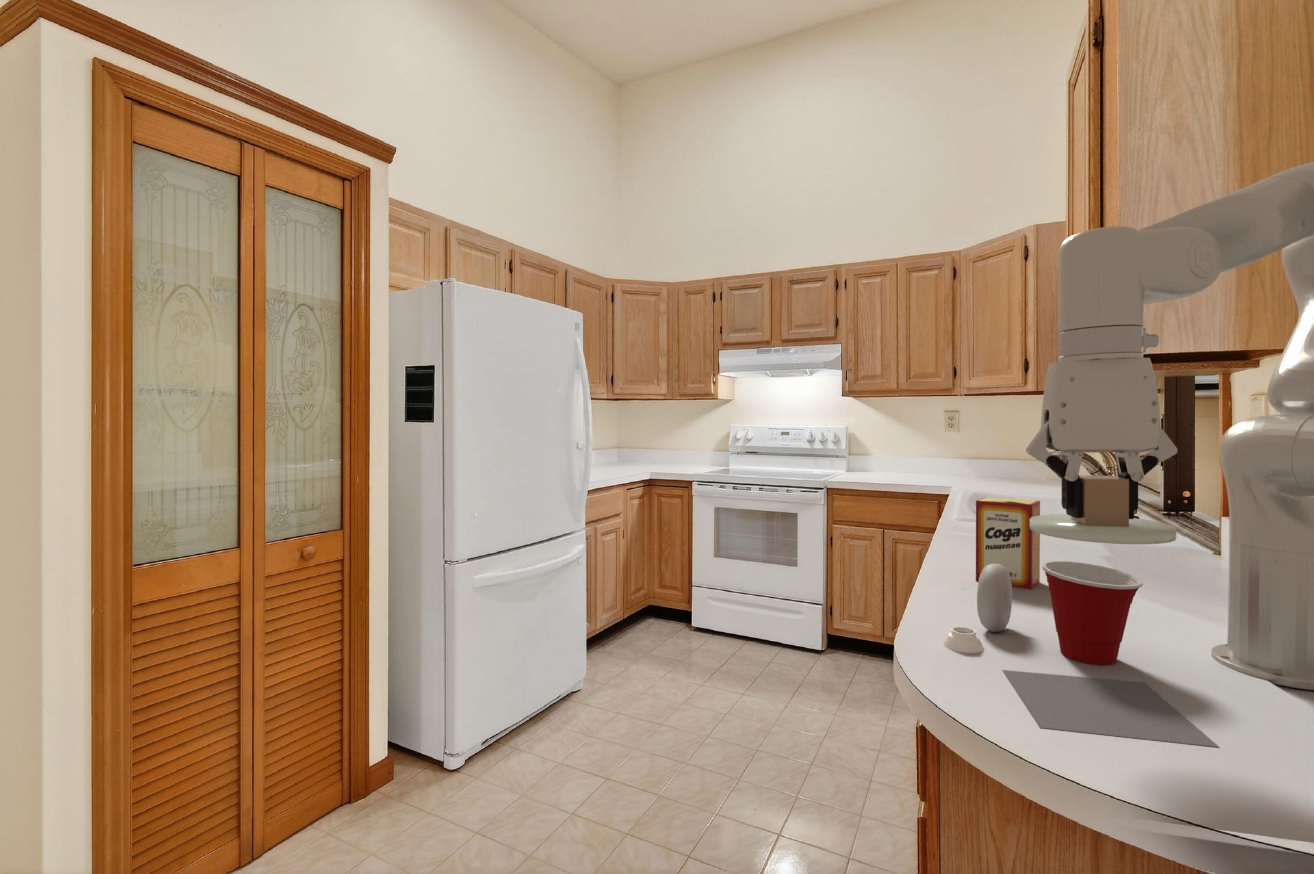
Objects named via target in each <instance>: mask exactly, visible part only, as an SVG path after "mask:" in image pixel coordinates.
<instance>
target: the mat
mask: <svg viewBox="0 0 1314 874" xmlns="http://www.w3.org/2000/svg"><path fill="white" fill-rule="evenodd" d="M1001 672H1002V673H1003V674H1004V675H1005V677H1006V678H1007V680H1008V682H1009V683H1010V685H1011V687H1012V688H1013V689H1014V690H1015V692H1016V694H1017V696H1018V697H1019V698H1020V700H1021V701H1022V703H1023V705H1024V706H1025V708H1026V709H1027V710H1028V713H1029V714H1030V715H1031V717H1032V719H1034V721H1035V723H1036V724H1037V726H1038V727H1039V729H1044V730H1053V731H1054V730H1055V731H1063V732H1073V733H1078V734H1079V733H1080V734H1090V735H1099V736H1108V737H1109V736H1111V737H1115V738H1118V737H1119V738H1124V739H1125V738H1127V739H1135V740H1144V741H1154V742H1162V743H1174V744H1182V745H1191V746H1199V747H1209V748H1211V747H1212V748H1217V749H1220V747H1221V746H1219V745H1218V744H1217V743H1215V742H1214V741H1213V739H1211V738H1210V737H1208V735H1206V734H1205V733H1204V732H1203V731H1202V730H1201V729H1199V727H1197V726H1196V725H1194V723H1193V722H1191V721H1190V720H1189V719H1188V718H1186V716H1184V715H1183V713H1181V712H1179V711H1178V710H1177V709H1176V708H1175V707H1174V706H1172V705H1171V704H1170V703H1169V702H1168V701H1167V700H1165V699H1164V698H1163V697H1162V696H1161V695H1160V694H1159V693H1158V692H1157V691H1155V690H1154V689H1153V688H1152V687H1151V686H1150V685H1148V684H1147V683H1146V682H1144V681H1133V680H1132V681H1130V680H1120V679H1111V678H1098V677H1089V676H1087V677H1086V676H1085V677H1084V676H1075V675H1066V674H1065V675H1063V674H1052V673H1041V672H1031V671H1030V672H1029V671H1019V670H1007V669H1002V670H1001Z"/></svg>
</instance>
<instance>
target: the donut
mask: <svg viewBox="0 0 1314 874" xmlns="http://www.w3.org/2000/svg"><path fill="white" fill-rule="evenodd" d="M977 582H978V581H977ZM976 589H977V591H976V610H977V616H978V618H979V621H980V623H981V625H982V626H983V627H984V628H985V629H986V630H988V631H989V632H992V633H998V632H1002V631H1003V630H1005V629H1006V628H1007V626H1008V624H1009V623H1010V620H1011V616H1012V615H1011V613H1012V608H1013V607H1012V605H1013V587H1012V584H1011V578H1010V575H1009V572H1008V571H1007V569H1006V568H1005V567H1004V566H1002V565H1000V564H989V565H987V566H986V567H984V569H983V570H982V572H981V574H980V577H979V582H978V584H977V588H976Z"/></svg>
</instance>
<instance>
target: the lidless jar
mask: <svg viewBox="0 0 1314 874" xmlns="http://www.w3.org/2000/svg"><path fill="white" fill-rule="evenodd" d="M942 644H943V647H945V648H946V649H949V650H952V651H954V652H958V653H963V654H979V653H982V652H983V651H984V650H985V648H984V645H983V644H982V641H981V639H980V637H979V636H978V635H977V631H976V630H974V629H973V628H970V627H966V626H952V627H951V628H950V632H949V633H948V634H947V635H946V637H945V639H944V641H943V642H942Z"/></svg>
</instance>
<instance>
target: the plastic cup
mask: <svg viewBox="0 0 1314 874" xmlns="http://www.w3.org/2000/svg"><path fill="white" fill-rule="evenodd" d="M1042 570H1043V572H1044V573H1045V577H1046V582H1047V585H1048V591H1049V594H1050V600H1051V606H1052V612H1053V619H1054V625H1055V632H1056V633H1057V637H1058V638H1057V639H1058V643H1059V644H1058V645H1059V651H1060V653H1061V654H1062V655H1063V656H1064V657H1065V658H1068V659H1069V660H1072V661H1074V662H1078V663H1082V664H1088V665H1092V666H1111V665H1114V664H1116V663H1117V661H1118V656H1119V651H1120V647H1121V643H1122V642H1123V637H1124V634H1125V631H1126V625H1127V621H1128V617H1129V612H1130V608H1131V605H1132V604H1133V600H1134V597H1136V593H1137V592H1138V590H1139V588H1142V586H1143V585H1144V582H1143V579H1142V578H1139V577H1138V576H1136V575H1135V574H1133V573H1132V574H1131V573H1129V572H1127V571H1122V570H1120V569H1117V568H1112V567H1109V566H1104V565H1099V564H1093V563H1088V562H1087V563H1086V562H1082V561H1081V562H1080V561H1071V560H1070V561H1069V560H1051V561H1046V562H1043V564H1042Z"/></svg>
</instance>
